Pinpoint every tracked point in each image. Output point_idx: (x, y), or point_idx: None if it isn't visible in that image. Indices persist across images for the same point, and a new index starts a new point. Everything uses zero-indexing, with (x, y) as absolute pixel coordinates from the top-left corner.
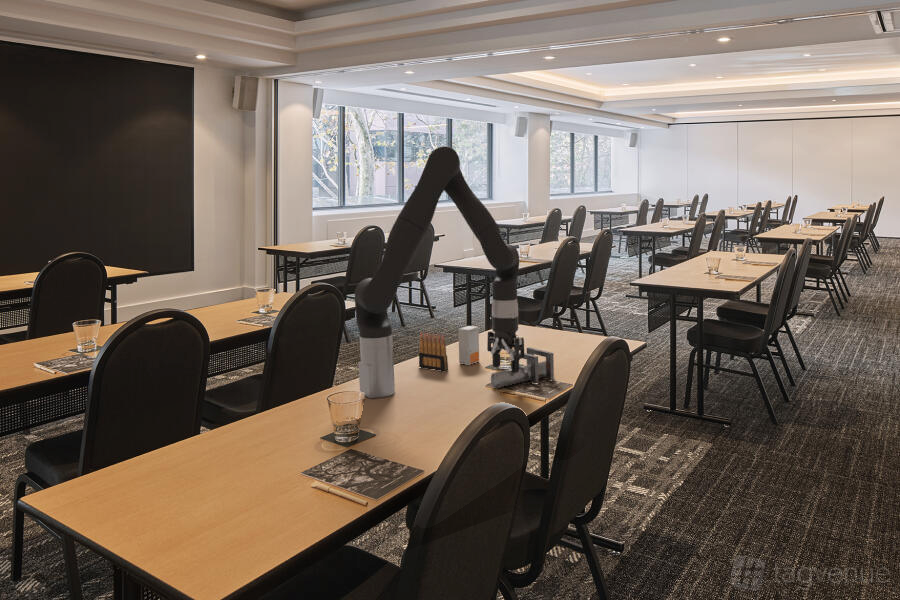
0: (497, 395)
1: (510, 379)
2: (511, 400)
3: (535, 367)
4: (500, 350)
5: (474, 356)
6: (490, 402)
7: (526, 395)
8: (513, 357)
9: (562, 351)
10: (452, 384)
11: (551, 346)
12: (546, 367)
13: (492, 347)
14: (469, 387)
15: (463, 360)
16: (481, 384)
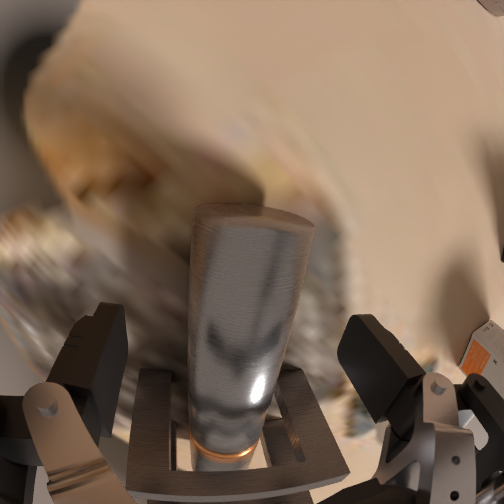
0: (132, 108)
1: (189, 298)
2: (25, 115)
3: (130, 439)
4: (383, 452)
5: (476, 364)
6: (85, 15)
7: (33, 230)
8: (25, 408)
9: (325, 490)
10: (447, 131)
11: (358, 482)
12: (173, 463)
13: (461, 422)
14: (375, 128)
15: (491, 331)
16: (362, 210)
